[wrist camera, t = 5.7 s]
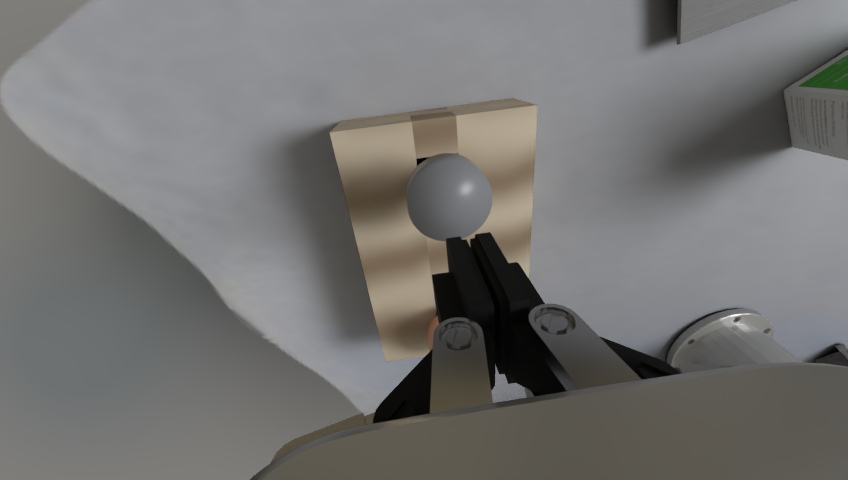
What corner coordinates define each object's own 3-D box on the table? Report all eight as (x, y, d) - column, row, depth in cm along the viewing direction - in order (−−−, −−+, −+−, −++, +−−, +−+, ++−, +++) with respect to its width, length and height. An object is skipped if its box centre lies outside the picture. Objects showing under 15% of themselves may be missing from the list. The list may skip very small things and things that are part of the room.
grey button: (471, 198, 26) (493, 235, 20) (409, 206, 26) (413, 246, 20) (468, 133, 23) (491, 155, 18) (399, 142, 23) (401, 167, 18)
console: (510, 308, 37) (525, 342, 32) (386, 326, 36) (385, 361, 32) (513, 98, 26) (537, 104, 22) (340, 121, 26) (329, 132, 22)
